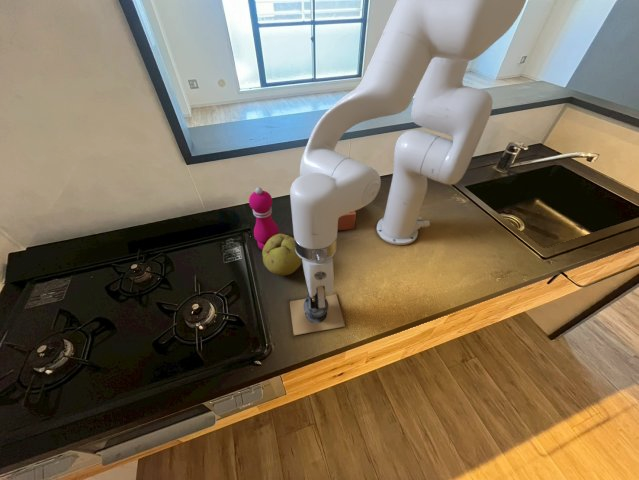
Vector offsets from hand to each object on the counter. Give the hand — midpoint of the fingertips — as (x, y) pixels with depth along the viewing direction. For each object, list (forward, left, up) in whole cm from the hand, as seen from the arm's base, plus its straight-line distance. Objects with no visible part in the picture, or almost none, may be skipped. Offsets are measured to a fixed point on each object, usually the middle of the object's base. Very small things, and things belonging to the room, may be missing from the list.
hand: (316, 297), depth 62 cm
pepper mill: (+10, -26, -7) cm, 29 cm away
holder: (-12, -33, -7) cm, 36 cm away
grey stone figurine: (0, 0, -7) cm, 7 cm away
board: (0, 0, -7) cm, 7 cm away
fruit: (+6, -16, -7) cm, 19 cm away
